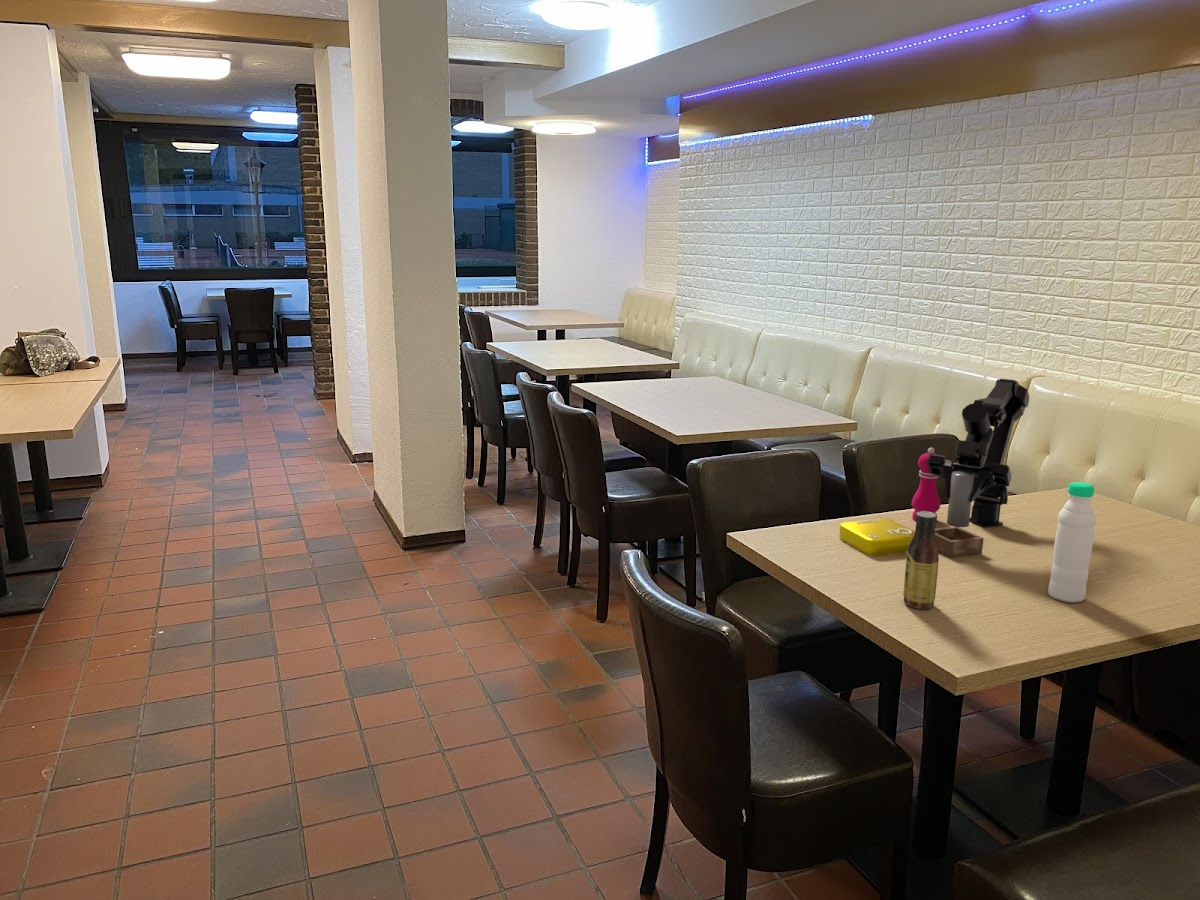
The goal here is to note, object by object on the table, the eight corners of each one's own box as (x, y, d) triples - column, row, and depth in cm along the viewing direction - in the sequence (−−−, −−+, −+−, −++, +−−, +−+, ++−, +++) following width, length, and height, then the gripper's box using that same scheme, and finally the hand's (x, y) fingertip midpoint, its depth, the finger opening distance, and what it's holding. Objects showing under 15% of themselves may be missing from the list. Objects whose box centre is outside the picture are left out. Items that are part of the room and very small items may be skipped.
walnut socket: (954, 541, 226) (956, 526, 225) (981, 554, 217) (983, 538, 216) (923, 545, 223) (924, 529, 222) (949, 558, 214) (951, 542, 213)
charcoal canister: (965, 521, 220) (970, 471, 217) (971, 527, 215) (977, 477, 212) (944, 520, 220) (949, 471, 217) (949, 526, 215) (955, 476, 212)
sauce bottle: (909, 596, 191) (917, 506, 186) (938, 604, 187) (948, 512, 182) (897, 605, 186) (905, 513, 181) (927, 613, 182) (936, 520, 177)
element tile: (886, 533, 233) (887, 515, 232) (923, 552, 219) (925, 533, 218) (835, 538, 228) (837, 520, 227) (870, 558, 214) (871, 539, 213)
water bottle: (1083, 606, 186) (1100, 490, 181) (1045, 599, 190) (1061, 485, 184) (1086, 595, 192) (1102, 482, 186) (1049, 588, 196) (1064, 477, 190)
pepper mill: (934, 516, 246) (941, 445, 241) (941, 524, 239) (949, 451, 234) (907, 515, 247) (914, 444, 242) (913, 523, 240) (920, 450, 235)
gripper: (932, 422, 220) (914, 474, 215) (1014, 432, 210) (996, 488, 204) (939, 447, 228) (921, 498, 223) (1018, 458, 218) (1001, 513, 212)
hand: (958, 499), depth 215 cm, fingers closed on charcoal canister, 5 cm apart
